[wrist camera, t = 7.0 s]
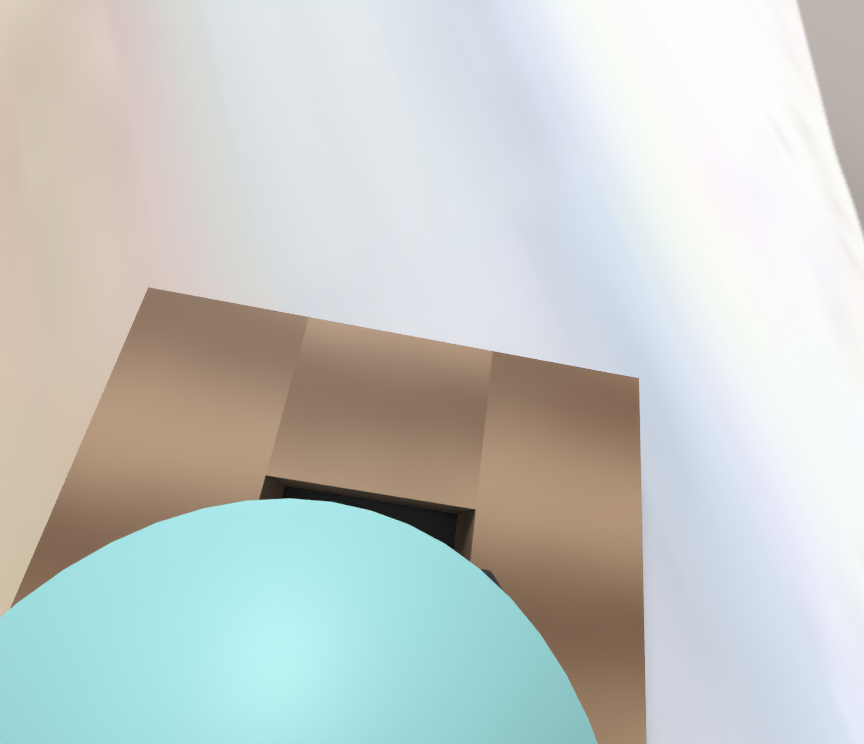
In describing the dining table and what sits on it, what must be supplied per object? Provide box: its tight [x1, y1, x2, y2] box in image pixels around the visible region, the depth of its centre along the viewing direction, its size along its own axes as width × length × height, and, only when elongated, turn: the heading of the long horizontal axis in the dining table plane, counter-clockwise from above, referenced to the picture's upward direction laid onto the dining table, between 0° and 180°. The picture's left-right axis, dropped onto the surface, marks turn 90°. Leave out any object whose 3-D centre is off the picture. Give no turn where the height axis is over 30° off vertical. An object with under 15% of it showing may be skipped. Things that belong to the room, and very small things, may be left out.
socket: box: [10, 288, 646, 744], centre depth 13 cm, size 16×16×3 cm
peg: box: [0, 498, 598, 744], centre depth 8 cm, size 4×4×12 cm
